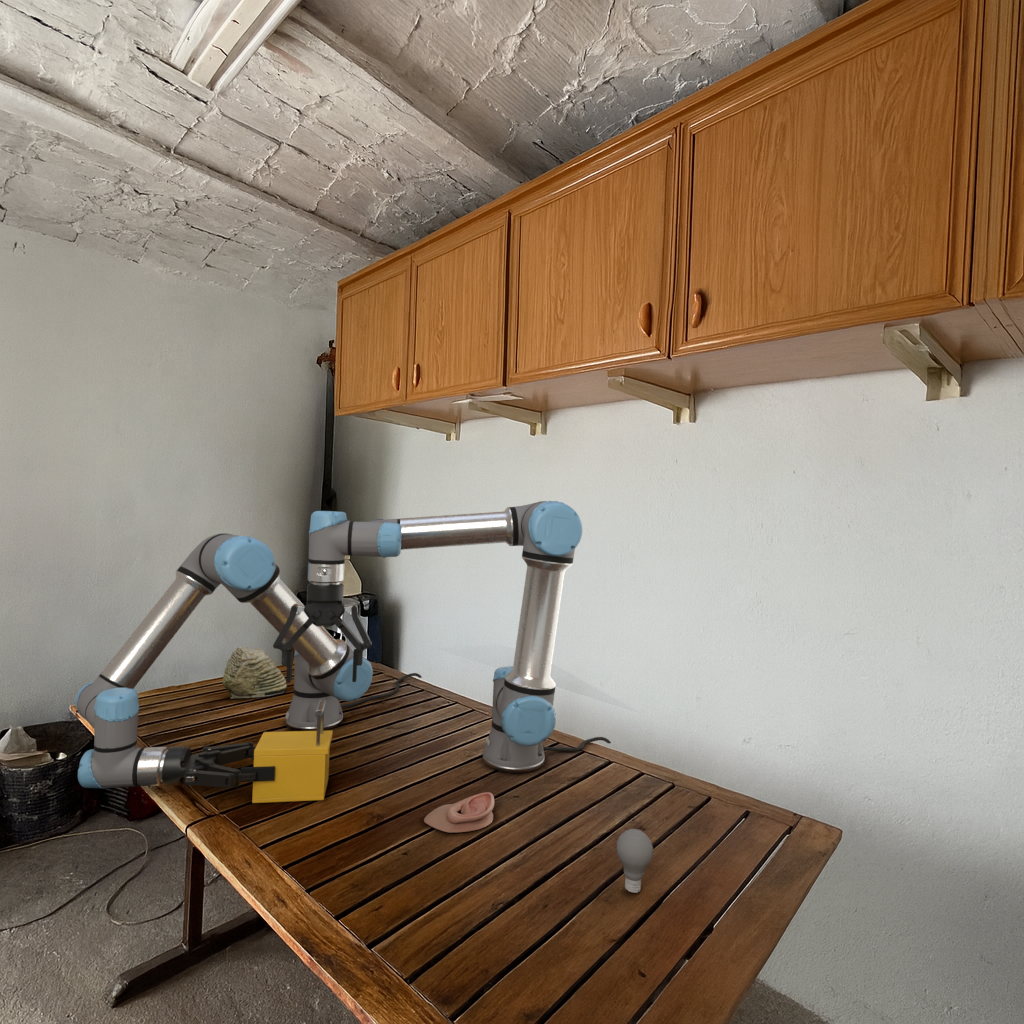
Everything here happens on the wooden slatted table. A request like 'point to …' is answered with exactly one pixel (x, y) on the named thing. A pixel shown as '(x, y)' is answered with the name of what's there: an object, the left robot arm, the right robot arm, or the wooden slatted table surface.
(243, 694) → the fossil
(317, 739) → the lid
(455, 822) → the anatomical model
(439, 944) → the wooden slatted table surface
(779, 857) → the wooden slatted table surface
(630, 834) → the light bulb
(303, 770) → the chest
